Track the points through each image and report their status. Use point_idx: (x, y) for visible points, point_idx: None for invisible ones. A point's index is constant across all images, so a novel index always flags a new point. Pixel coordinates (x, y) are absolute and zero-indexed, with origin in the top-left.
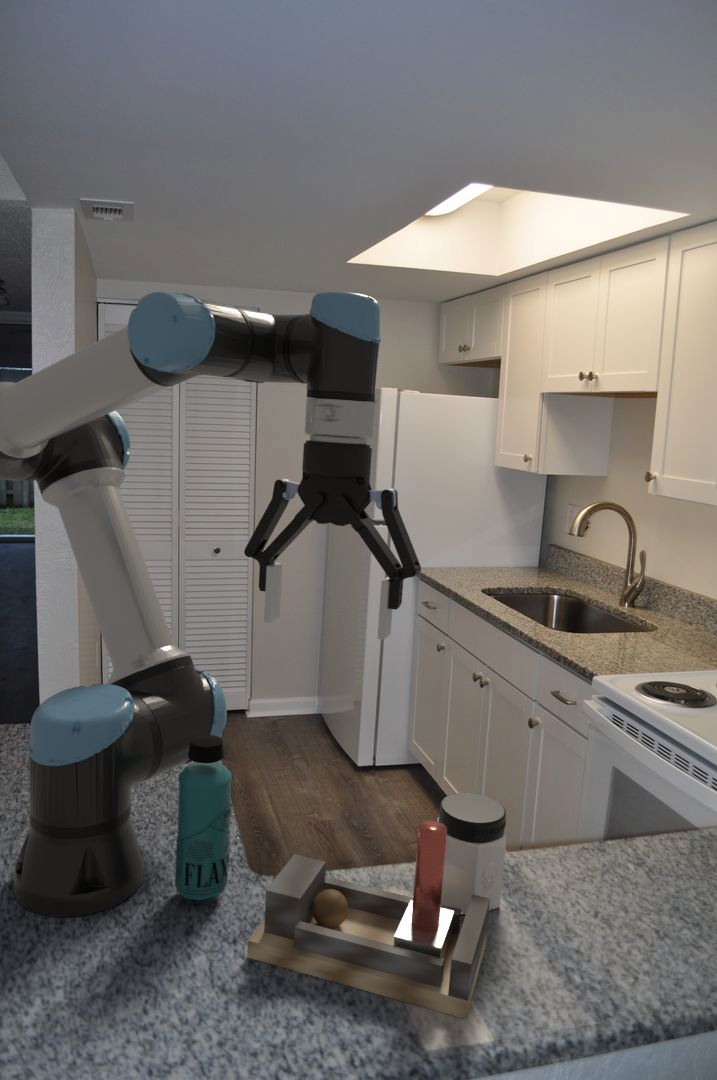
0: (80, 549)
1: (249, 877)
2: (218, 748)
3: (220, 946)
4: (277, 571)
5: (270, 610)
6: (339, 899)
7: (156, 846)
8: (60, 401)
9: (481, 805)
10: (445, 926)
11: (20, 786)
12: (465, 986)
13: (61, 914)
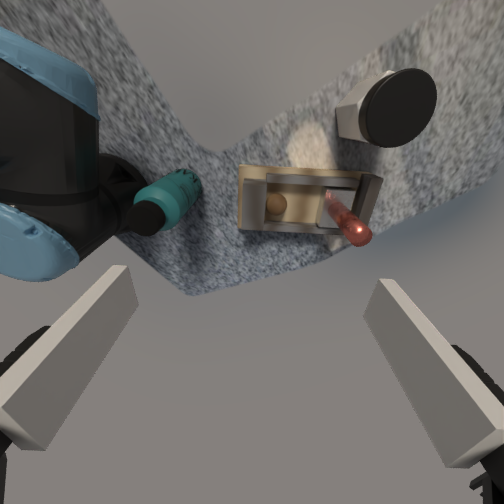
0: None
1: (204, 150)
2: (160, 225)
3: (221, 220)
4: (47, 402)
5: (125, 324)
6: (282, 209)
7: (122, 134)
8: None
9: (411, 102)
10: (348, 208)
11: None
12: None
13: None
